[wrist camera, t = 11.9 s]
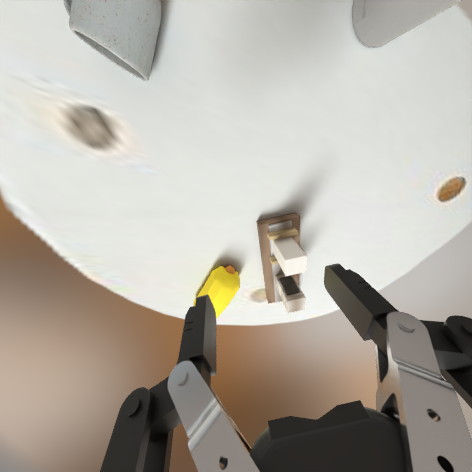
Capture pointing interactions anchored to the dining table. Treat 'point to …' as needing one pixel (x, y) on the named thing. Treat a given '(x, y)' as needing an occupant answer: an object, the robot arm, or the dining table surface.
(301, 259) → the loose white rectangular block
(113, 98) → the dining table surface
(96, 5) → the ceramic mug
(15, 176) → the dining table surface
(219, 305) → the yellow faceted pepper
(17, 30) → the dining table surface
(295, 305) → the wooden ladder shelf
